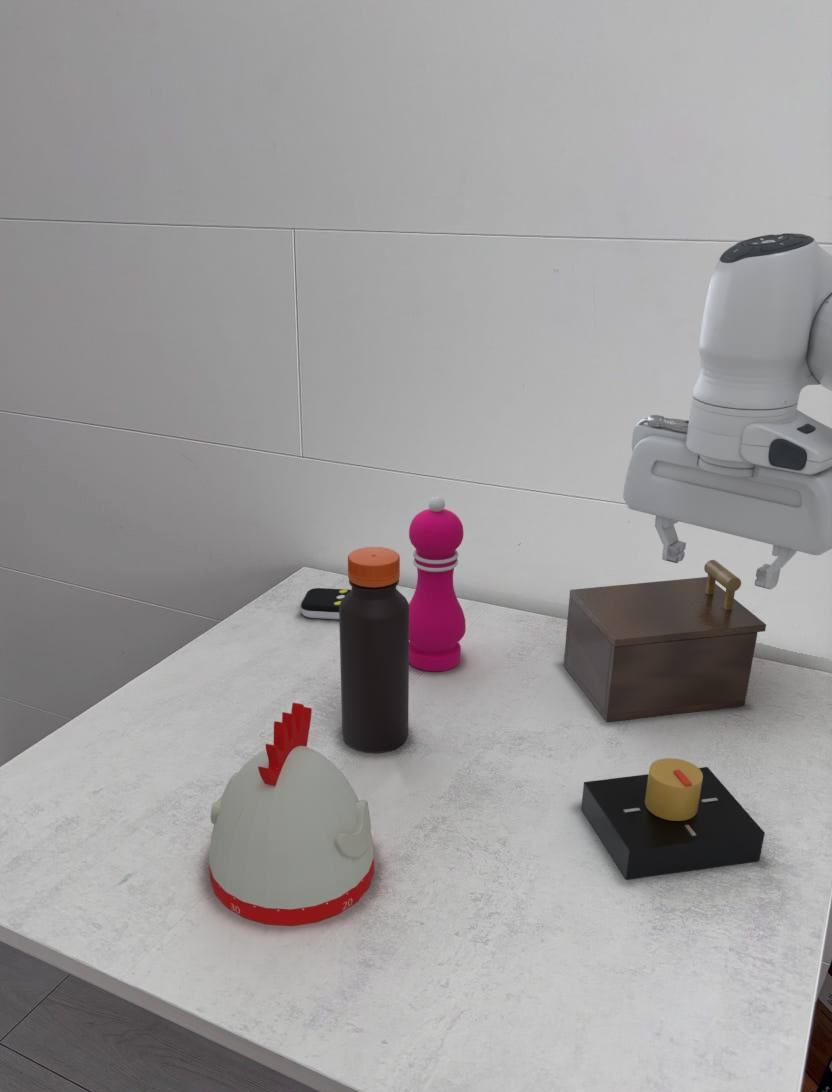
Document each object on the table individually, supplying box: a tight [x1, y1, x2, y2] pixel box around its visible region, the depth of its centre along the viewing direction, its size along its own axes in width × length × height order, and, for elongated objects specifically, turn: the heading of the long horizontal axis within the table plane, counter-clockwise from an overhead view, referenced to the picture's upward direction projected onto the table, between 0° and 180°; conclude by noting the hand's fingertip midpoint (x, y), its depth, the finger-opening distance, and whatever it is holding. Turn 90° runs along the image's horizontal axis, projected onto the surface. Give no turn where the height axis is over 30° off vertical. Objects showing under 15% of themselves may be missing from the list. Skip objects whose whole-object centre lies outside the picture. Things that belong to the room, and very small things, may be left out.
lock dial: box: [645, 757, 703, 821], centre depth 88 cm, size 4×4×4 cm
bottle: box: [338, 546, 410, 753], centre depth 101 cm, size 7×7×20 cm
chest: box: [563, 596, 759, 723], centre depth 112 cm, size 16×13×9 cm
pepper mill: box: [408, 495, 467, 672], centre depth 116 cm, size 7×7×20 cm
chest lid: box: [569, 559, 767, 647], centre depth 109 cm, size 16×13×5 cm
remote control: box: [300, 587, 352, 620], centre depth 132 cm, size 6×13×2 cm, turn 80°
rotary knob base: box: [580, 766, 766, 880], centre depth 90 cm, size 12×10×3 cm
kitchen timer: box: [208, 702, 375, 927], centre depth 84 cm, size 14×14×15 cm
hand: (717, 572), depth 98 cm, fingers open, 8 cm apart
